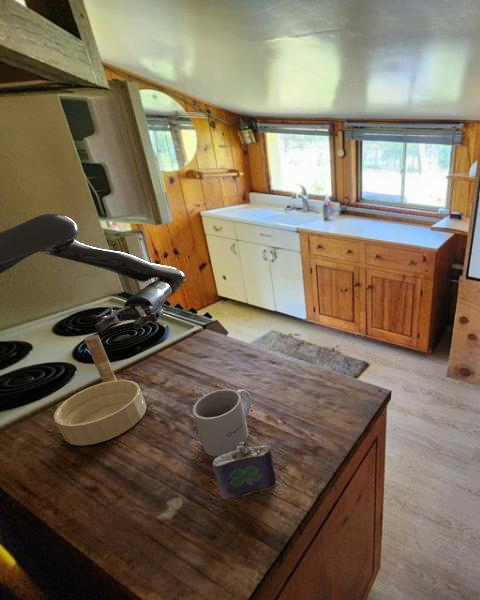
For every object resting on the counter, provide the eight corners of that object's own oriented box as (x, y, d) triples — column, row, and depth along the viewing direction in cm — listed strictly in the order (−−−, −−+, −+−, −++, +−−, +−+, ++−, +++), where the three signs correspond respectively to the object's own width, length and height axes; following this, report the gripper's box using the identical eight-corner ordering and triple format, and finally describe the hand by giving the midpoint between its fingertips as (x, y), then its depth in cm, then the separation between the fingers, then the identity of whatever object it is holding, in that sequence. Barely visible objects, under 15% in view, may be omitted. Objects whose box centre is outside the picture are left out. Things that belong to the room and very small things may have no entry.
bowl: (47, 451, 65) (34, 430, 63) (92, 403, 77) (82, 383, 75) (127, 442, 68) (117, 421, 65) (158, 396, 80) (151, 377, 78)
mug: (221, 462, 64) (211, 425, 60) (194, 445, 68) (182, 409, 64) (270, 421, 74) (264, 387, 70) (244, 408, 78) (237, 374, 74)
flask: (220, 502, 57) (208, 460, 53) (223, 488, 60) (211, 446, 55) (276, 487, 60) (269, 446, 56) (276, 474, 63) (269, 433, 58)
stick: (96, 392, 81) (74, 343, 75) (107, 381, 85) (86, 333, 78) (116, 390, 82) (96, 341, 75) (126, 379, 85) (107, 332, 79)
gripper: (116, 291, 97) (80, 317, 83) (169, 289, 100) (143, 313, 86) (124, 314, 100) (90, 342, 86) (175, 311, 103) (151, 338, 89)
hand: (116, 327), depth 86 cm, fingers open, 8 cm apart
